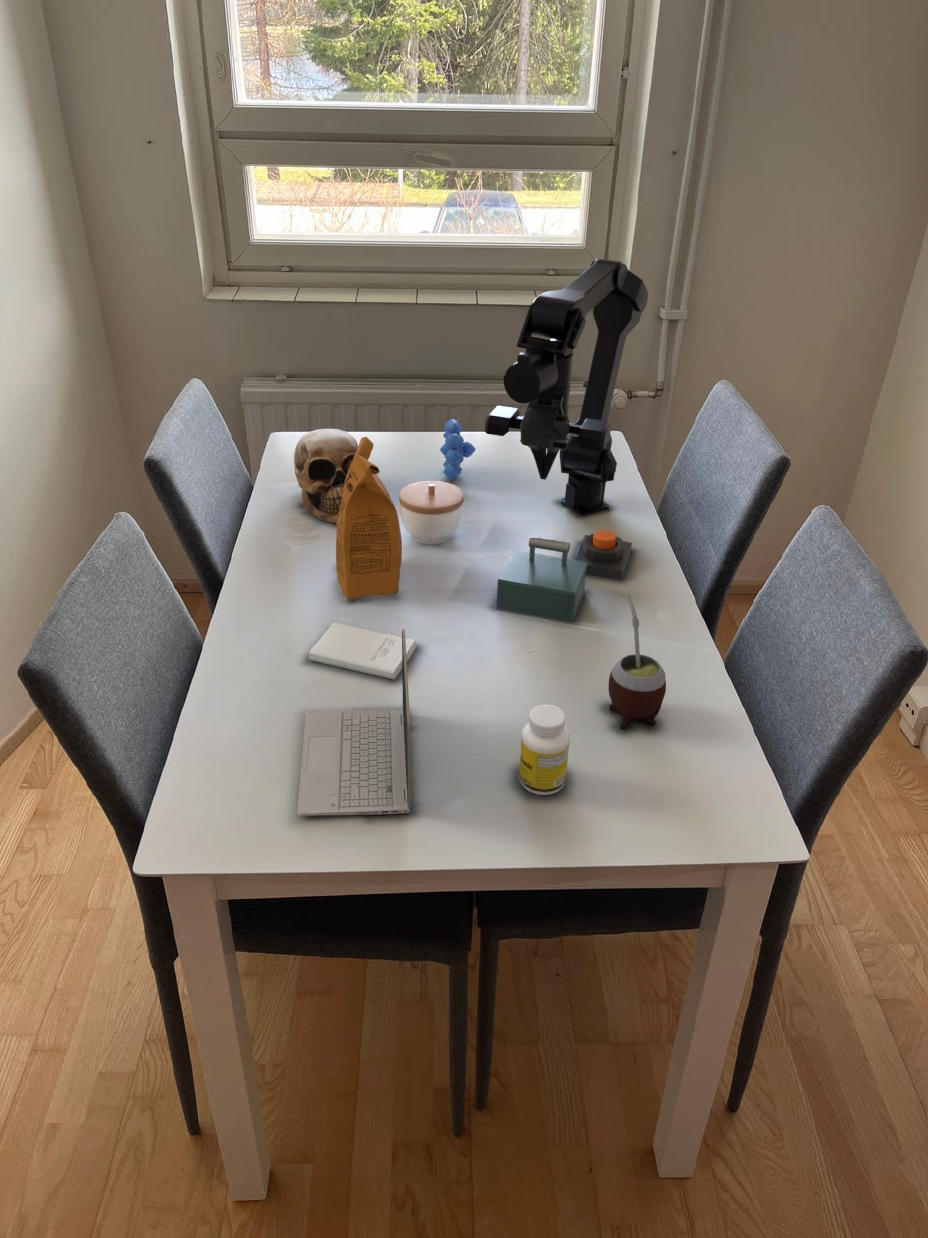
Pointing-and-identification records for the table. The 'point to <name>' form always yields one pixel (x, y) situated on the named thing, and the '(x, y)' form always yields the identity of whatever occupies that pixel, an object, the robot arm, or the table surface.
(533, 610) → the dark green toolbox
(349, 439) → the skull
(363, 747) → the laptop
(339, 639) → the hard drive
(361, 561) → the coffee package
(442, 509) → the trinket box
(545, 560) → the lid
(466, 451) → the grapes
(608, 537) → the button
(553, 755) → the supplement bottle
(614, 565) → the button block
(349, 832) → the table surface
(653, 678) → the mate gourd
